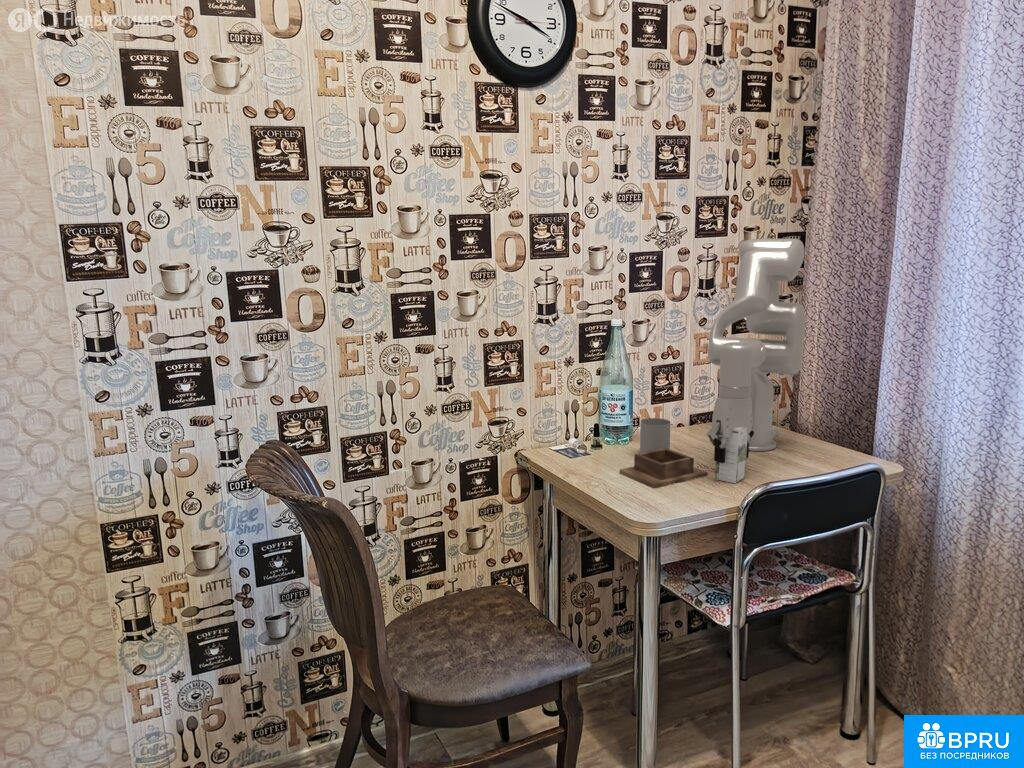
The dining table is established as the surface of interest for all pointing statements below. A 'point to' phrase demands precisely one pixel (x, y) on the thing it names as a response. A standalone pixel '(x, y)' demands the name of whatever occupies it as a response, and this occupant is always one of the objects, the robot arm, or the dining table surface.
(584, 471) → the dining table surface
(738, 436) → the syrup box
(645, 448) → the cup
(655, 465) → the box
